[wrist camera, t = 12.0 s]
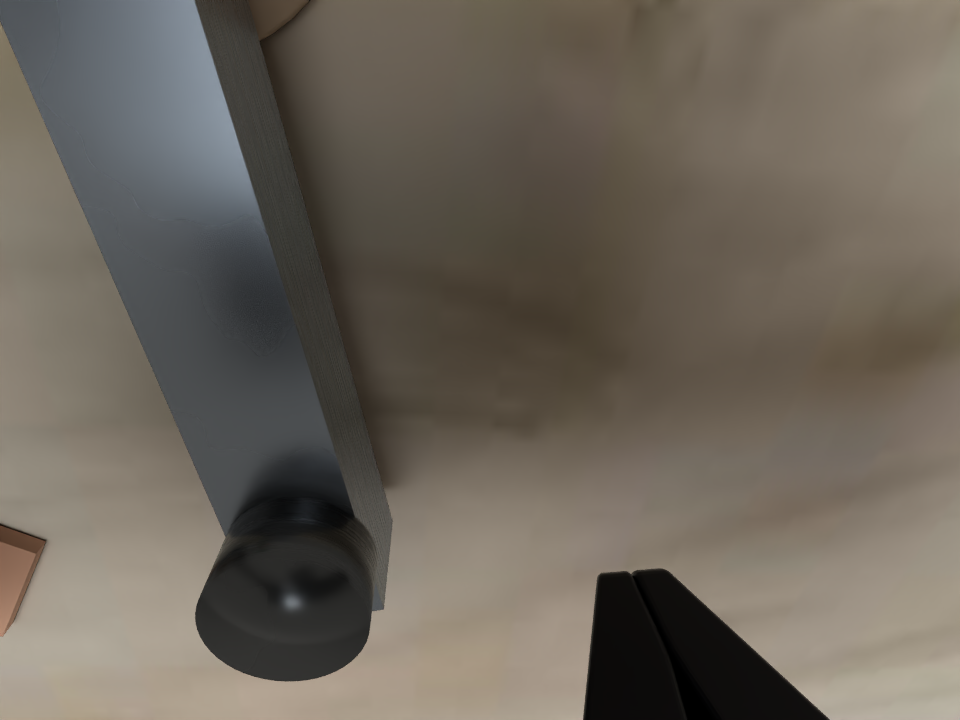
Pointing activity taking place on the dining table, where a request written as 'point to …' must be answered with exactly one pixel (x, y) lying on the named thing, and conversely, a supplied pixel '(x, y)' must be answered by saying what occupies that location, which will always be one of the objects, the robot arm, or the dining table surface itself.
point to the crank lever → (223, 309)
